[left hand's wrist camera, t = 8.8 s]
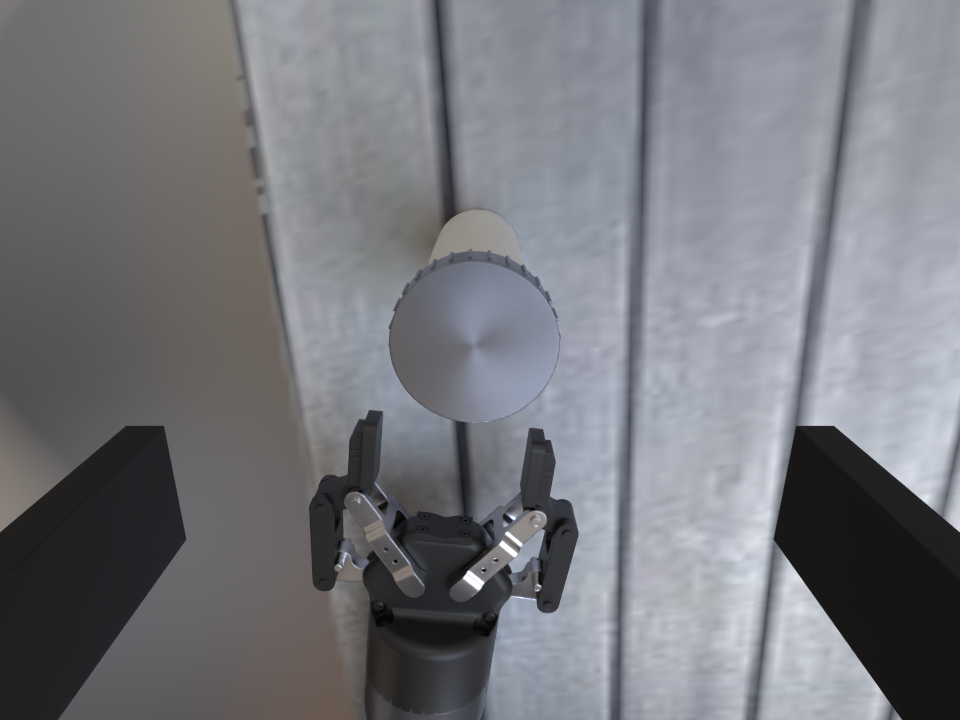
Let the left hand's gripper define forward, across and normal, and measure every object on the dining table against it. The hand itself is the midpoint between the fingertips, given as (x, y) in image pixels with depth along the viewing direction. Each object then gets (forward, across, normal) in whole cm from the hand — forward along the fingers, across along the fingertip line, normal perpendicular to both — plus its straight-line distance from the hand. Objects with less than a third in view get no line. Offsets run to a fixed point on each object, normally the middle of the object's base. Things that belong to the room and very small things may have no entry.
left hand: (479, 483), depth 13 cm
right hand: (+18, +1, +8) cm, 19 cm away
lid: (+8, 0, 0) cm, 8 cm away
